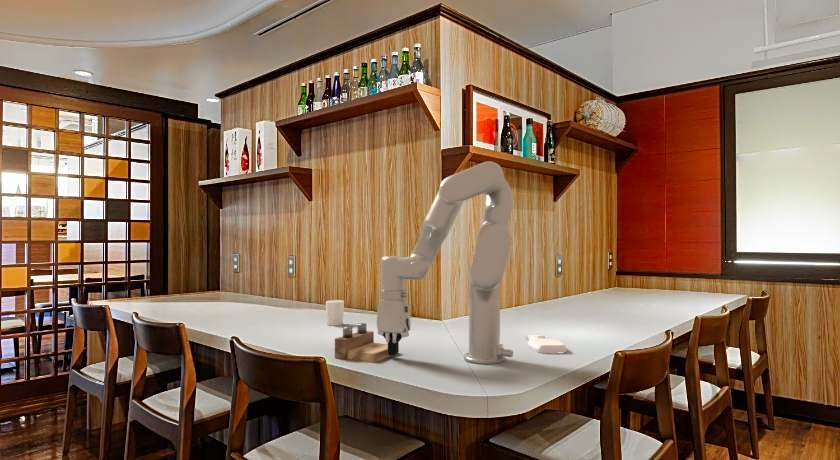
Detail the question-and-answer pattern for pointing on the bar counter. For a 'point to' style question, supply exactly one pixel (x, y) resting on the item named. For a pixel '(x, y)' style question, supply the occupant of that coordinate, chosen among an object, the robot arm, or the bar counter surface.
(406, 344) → the bar counter surface
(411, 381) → the bar counter surface
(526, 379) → the bar counter surface
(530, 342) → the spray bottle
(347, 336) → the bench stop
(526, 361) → the bar counter surface
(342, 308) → the white cup
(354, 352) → the oak plate
